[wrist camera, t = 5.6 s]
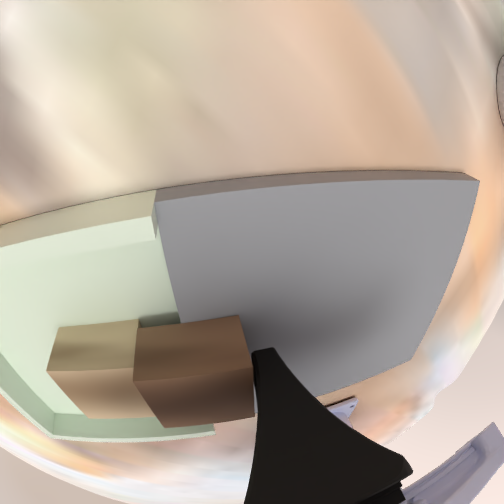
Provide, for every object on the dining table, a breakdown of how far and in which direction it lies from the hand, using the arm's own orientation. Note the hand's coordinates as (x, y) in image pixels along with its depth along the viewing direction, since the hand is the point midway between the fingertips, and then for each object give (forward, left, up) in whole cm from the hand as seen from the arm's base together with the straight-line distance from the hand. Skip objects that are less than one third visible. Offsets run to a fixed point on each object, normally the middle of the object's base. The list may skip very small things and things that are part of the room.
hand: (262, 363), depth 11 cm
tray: (0, +9, -2) cm, 9 cm away
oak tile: (0, +7, -2) cm, 7 cm away
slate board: (0, -5, -2) cm, 5 cm away
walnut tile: (0, +3, -1) cm, 3 cm away
